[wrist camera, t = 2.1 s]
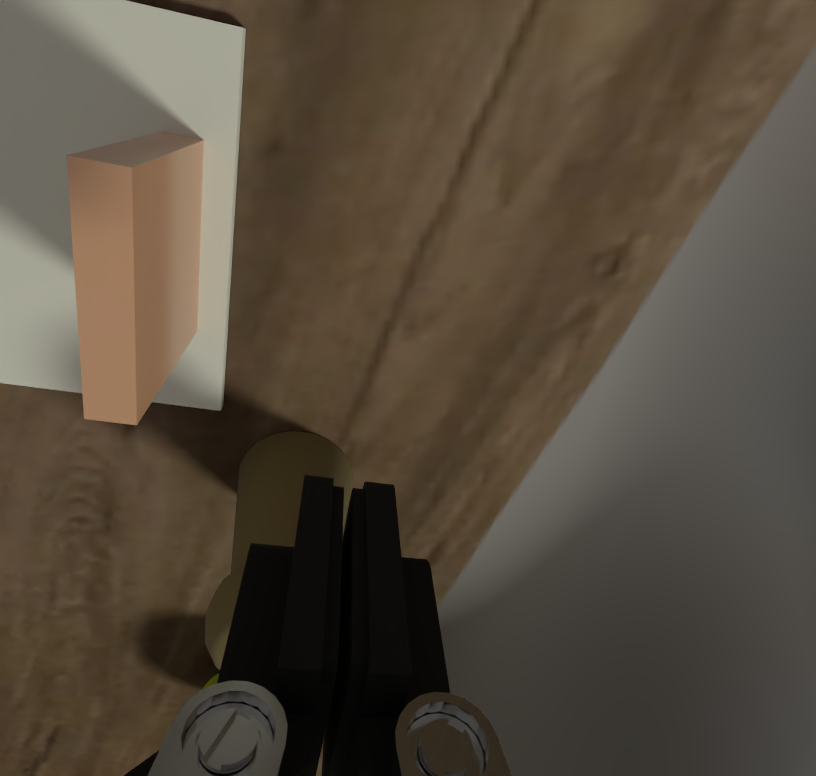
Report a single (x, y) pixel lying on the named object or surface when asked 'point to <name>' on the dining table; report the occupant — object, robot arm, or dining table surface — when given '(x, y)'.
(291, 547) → the robot arm
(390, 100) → the dining table surface
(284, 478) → the cork
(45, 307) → the mat
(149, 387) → the tile
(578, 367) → the dining table surface
